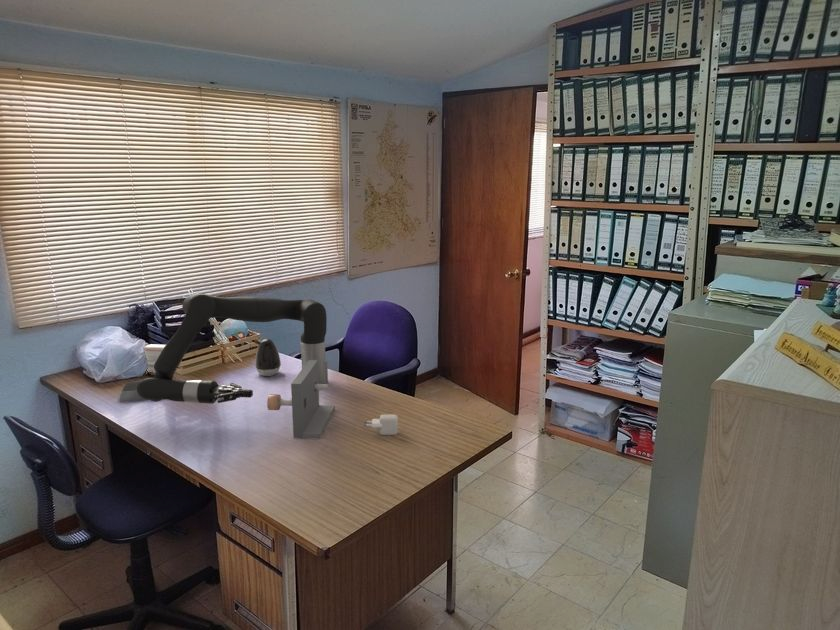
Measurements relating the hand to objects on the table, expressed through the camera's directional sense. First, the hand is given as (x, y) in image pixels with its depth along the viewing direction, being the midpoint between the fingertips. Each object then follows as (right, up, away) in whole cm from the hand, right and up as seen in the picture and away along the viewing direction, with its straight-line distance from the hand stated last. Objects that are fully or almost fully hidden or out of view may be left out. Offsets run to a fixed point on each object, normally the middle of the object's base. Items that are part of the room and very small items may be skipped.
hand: (252, 393), depth 198 cm
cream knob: (+18, -1, +8) cm, 20 cm away
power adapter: (+43, -12, -5) cm, 45 cm away
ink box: (-53, +2, +51) cm, 74 cm away
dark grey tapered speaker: (-7, +1, +50) cm, 51 cm away
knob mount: (+20, -10, +2) cm, 23 cm away
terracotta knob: (+13, -4, -6) cm, 15 cm away
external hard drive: (-46, -4, +28) cm, 54 cm away
